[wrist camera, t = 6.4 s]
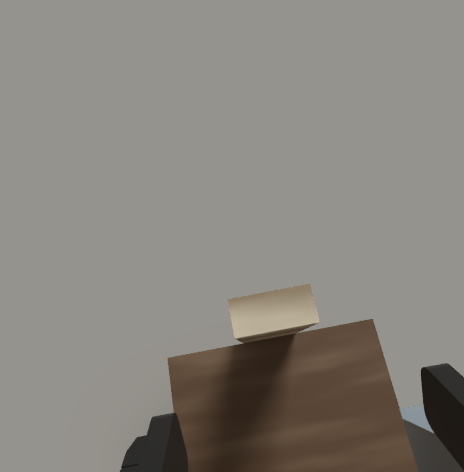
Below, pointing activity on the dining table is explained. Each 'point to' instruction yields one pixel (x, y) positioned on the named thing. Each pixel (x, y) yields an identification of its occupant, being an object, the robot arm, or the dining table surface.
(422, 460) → the gray rectangular box
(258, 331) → the slat
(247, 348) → the walnut box
